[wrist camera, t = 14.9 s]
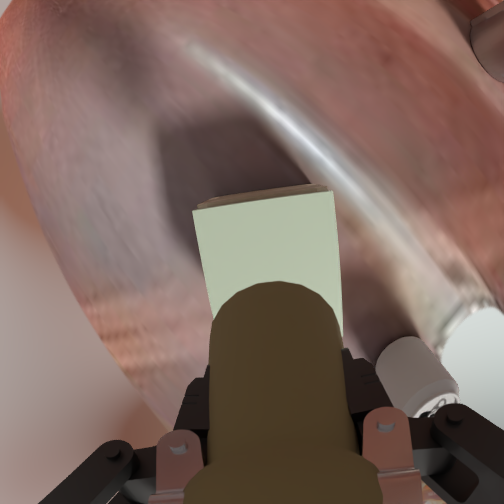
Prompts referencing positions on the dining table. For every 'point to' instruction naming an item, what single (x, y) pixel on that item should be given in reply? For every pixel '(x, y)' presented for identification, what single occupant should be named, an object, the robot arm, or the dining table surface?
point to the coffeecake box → (430, 495)
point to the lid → (271, 246)
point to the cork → (280, 406)
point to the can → (415, 378)
